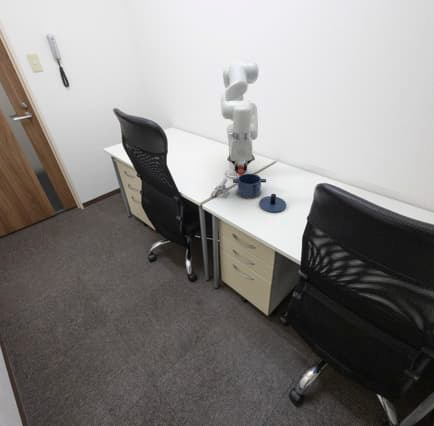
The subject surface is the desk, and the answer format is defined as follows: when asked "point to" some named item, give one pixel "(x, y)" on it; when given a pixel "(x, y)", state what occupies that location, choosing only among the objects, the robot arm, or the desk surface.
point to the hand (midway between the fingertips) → (240, 171)
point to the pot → (249, 185)
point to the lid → (272, 203)
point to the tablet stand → (221, 186)
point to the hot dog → (240, 169)
